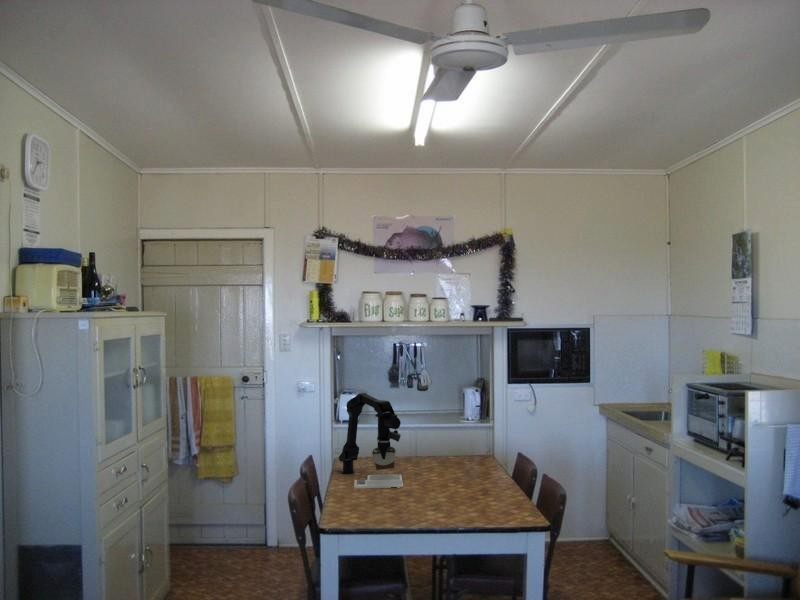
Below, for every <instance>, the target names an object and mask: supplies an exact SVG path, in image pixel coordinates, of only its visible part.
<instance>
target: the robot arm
mask: <svg viewBox="0 0 800 600" xmlns="http://www.w3.org/2000/svg"><path fill="white" fill-rule="evenodd" d="M365 405H367V406H369V407H371V408H373V410H374V411H375V412H376V414H375V418H377V437H376V438H377V439H376V441H377V447H378V449H379V451H380V454H381V456H382V459H385V456H386V451H387V449H388V448H389V447H390V446H391V440H393V441H396V442H400V440H401V436H402V435H401V434H400V433H399V431H398V429H399V428H400V426H401V420H400V418H399V417H398V414H396V413H395V410H394V407H393V406H392V404H391V402H390V401H389V400H385V399H383V400H382V399H378V398H376V397H373V396H371V395H369V394H367V393H366V392H365V393H358V394H357V395H355V396H353V397H352V398H350V400H348V401H347V402H346V413H347V415H348V424H347V425H348V426H347V433H346V434H347V435H346V442H345V444H344V445H343V447H342V451H341V453H340V455H339V456H338V460H339V462H341V463H342V470H341V474H355V469H354V461H358V458H359V457H358V456H359V454H360V446H358V444H357V437H358V436H357V435H358V424H359V416H360V415H361V414H362V412H363V407H365ZM390 429H393V431H391V430H390Z"/></svg>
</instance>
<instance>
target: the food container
mask: <svg viewBox="0 0 800 600" xmlns="http://www.w3.org/2000/svg"><path fill="white" fill-rule="evenodd" d="M396 453H397V451H396V449H395V447H394V446H391V445H390V447H389V448H388V449H387V451H386V456H385V459H382V456H381V454H380V451H379V449H378V446H377V447H376V448H374V449H372V451H371V455H372V459H373V462H374V467H375V471H384V470H385V471H386V470H392V469H393V470H394V469H395V468H396V467H395V466H396ZM395 470H396V469H395Z"/></svg>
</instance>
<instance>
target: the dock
mask: <svg viewBox="0 0 800 600" xmlns="http://www.w3.org/2000/svg"><path fill="white" fill-rule="evenodd" d="M403 482H404V481H403V477H402V474H368V475H367V479H354V483H353V485H354V486H353V489H392V488H391V487H397V488H396V489H398V488H399V489H401V488H400V487H403V488H404V483H403Z"/></svg>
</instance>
